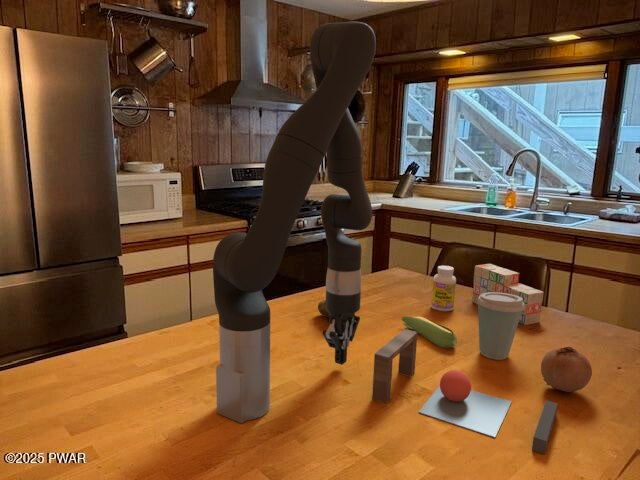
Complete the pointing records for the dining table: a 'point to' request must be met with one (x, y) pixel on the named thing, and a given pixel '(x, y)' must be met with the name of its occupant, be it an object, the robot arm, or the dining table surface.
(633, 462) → the dining table surface
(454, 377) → the ball
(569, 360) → the onion
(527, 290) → the stack of blocks
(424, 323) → the edible corn
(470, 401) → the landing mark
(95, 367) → the dining table surface
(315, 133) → the robot arm
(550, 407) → the wall
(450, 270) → the supplement bottle
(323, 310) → the potato
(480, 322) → the disposable coffee cup
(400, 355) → the bridge
